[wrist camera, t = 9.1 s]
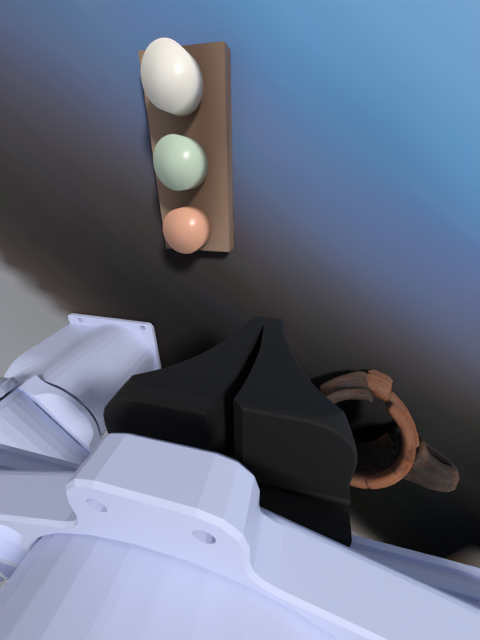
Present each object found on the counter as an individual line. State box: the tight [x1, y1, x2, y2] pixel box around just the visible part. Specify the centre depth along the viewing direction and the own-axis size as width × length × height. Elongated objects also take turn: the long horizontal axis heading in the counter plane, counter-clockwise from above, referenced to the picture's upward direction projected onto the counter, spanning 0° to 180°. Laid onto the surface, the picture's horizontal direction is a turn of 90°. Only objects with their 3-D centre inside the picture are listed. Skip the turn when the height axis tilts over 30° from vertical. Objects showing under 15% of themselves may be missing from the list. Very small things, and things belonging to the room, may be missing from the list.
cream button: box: [141, 38, 203, 116], centre depth 14 cm, size 3×3×2 cm
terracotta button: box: [163, 206, 211, 254], centre depth 18 cm, size 3×3×2 cm
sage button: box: [153, 134, 208, 191], centre depth 16 cm, size 3×3×2 cm
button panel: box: [138, 41, 234, 252], centre depth 18 cm, size 5×11×1 cm, turn 0°
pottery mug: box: [320, 369, 459, 492], centre depth 22 cm, size 12×10×8 cm
